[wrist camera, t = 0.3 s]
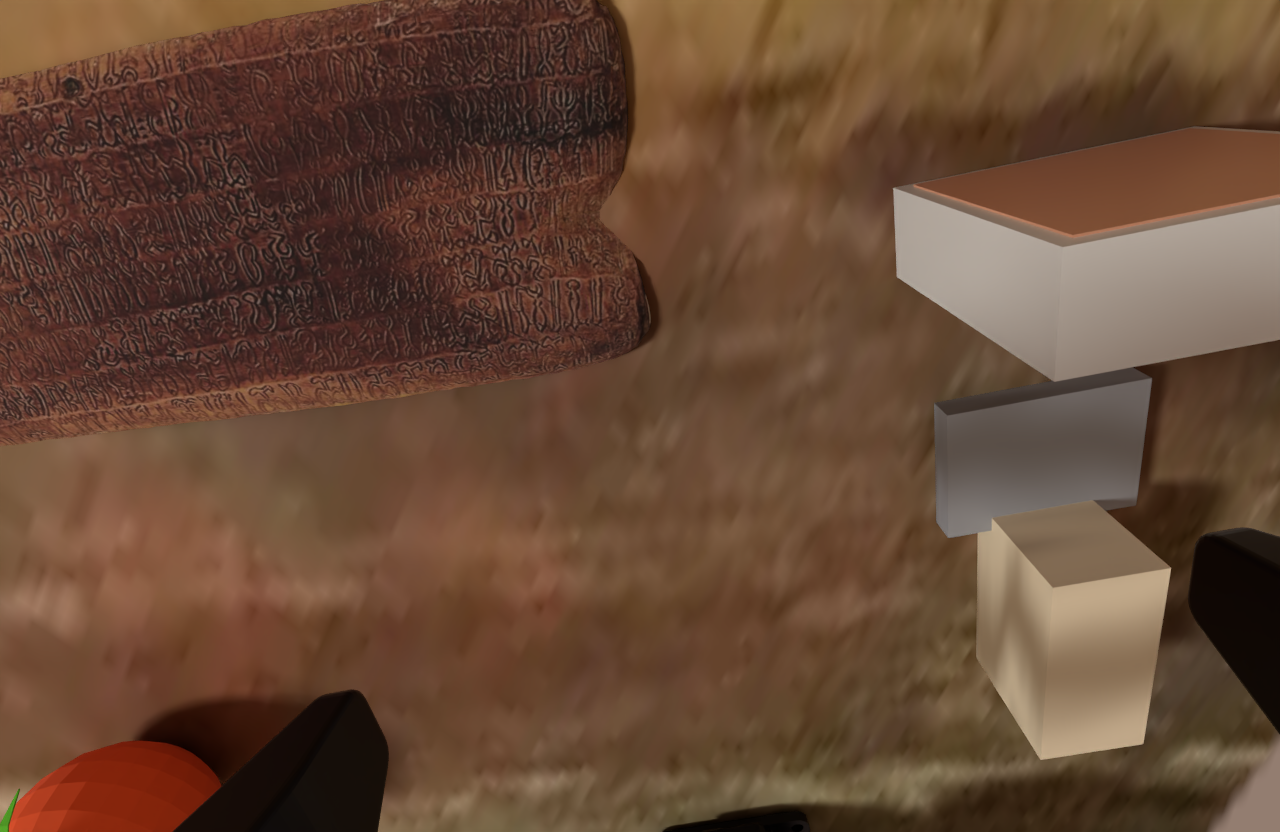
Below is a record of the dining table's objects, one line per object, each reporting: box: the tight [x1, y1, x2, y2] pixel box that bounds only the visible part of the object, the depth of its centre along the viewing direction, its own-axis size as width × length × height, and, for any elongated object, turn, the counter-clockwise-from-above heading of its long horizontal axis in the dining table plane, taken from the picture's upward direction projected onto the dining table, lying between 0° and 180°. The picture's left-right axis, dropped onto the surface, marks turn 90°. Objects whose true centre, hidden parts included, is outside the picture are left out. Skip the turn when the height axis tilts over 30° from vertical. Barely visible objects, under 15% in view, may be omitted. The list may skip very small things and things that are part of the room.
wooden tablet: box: [0, 0, 651, 446], centre depth 19 cm, size 26×2×10 cm
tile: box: [893, 126, 1280, 382], centre depth 16 cm, size 3×8×8 cm, turn 101°
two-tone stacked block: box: [934, 367, 1171, 760], centre depth 22 cm, size 11×6×4 cm, turn 11°
